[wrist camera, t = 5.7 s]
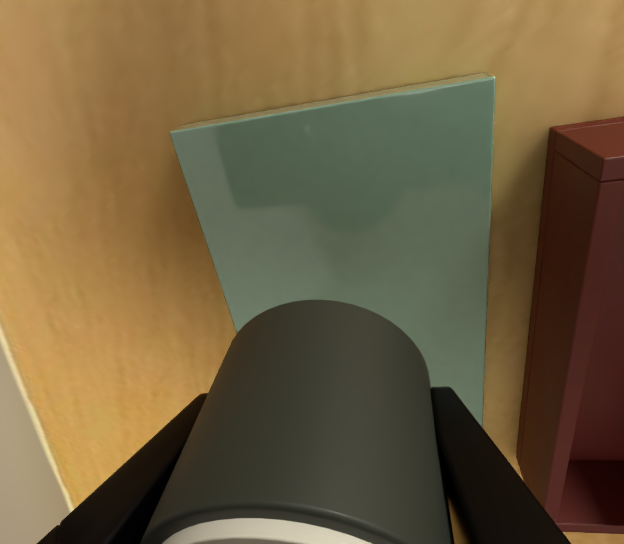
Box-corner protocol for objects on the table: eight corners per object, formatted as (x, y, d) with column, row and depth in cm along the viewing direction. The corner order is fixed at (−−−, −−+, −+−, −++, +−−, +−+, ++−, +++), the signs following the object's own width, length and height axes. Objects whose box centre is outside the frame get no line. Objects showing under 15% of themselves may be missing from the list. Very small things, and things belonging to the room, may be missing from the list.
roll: (433, 447, 10) (469, 716, 6) (254, 446, 11) (186, 680, 7) (425, 289, 8) (474, 555, 4) (201, 305, 9) (59, 533, 5)
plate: (475, 479, 22) (480, 501, 21) (294, 476, 24) (291, 496, 23) (486, 71, 12) (496, 76, 11) (182, 124, 14) (167, 132, 13)
